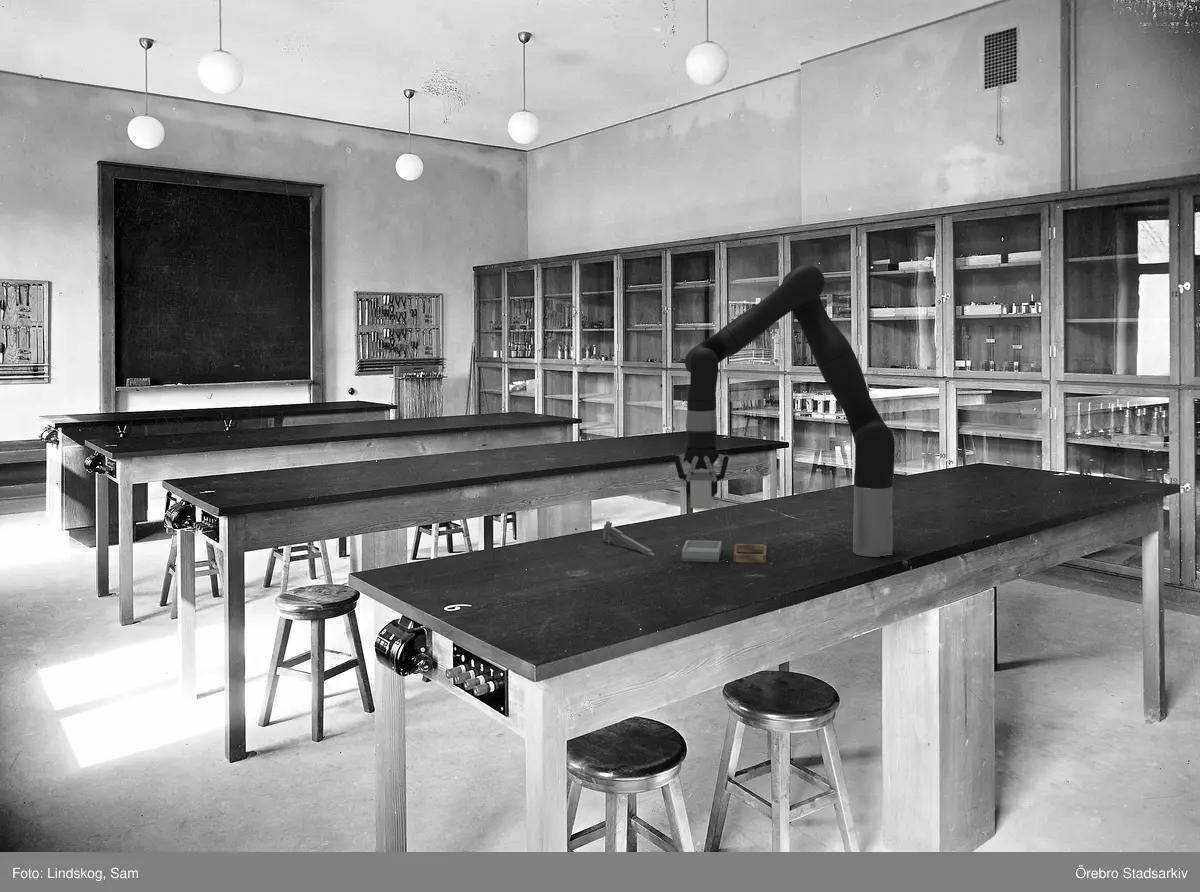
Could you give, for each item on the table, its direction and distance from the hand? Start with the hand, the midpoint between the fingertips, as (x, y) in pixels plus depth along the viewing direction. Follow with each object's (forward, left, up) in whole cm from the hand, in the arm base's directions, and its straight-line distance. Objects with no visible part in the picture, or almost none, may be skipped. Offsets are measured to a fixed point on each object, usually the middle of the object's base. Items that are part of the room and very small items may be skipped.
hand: (701, 495), depth 229 cm
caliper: (+20, -5, -16) cm, 26 cm away
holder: (-12, 0, -15) cm, 20 cm away
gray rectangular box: (0, 0, -2) cm, 2 cm away
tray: (0, 0, -15) cm, 15 cm away
